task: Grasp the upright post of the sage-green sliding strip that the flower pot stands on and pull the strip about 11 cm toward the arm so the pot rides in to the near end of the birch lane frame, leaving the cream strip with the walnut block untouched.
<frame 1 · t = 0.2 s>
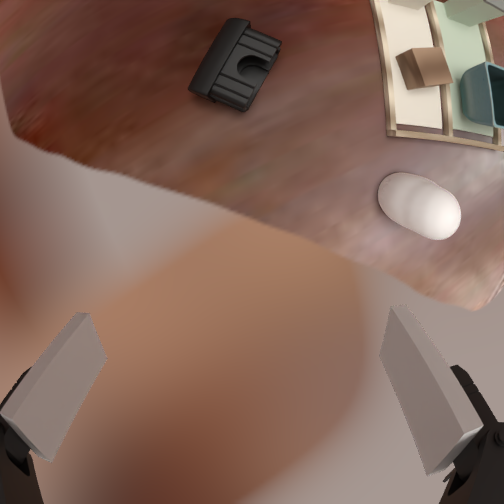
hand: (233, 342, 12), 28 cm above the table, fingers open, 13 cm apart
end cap: (237, 72, 31), on the table
cream strip: (430, 44, 23), point 6 cm above the table, slide at 0.0 cm, touching walnut block
figurine: (398, 194, 37), on the table
walnut block: (415, 71, 29), resting on cream strip
lane frame: (438, 37, 27), on the table
flower pot: (471, 100, 29), resting on sage strip
sage strip: (487, 61, 22), point 6 cm above the table, slide at 0.3 cm, touching flower pot
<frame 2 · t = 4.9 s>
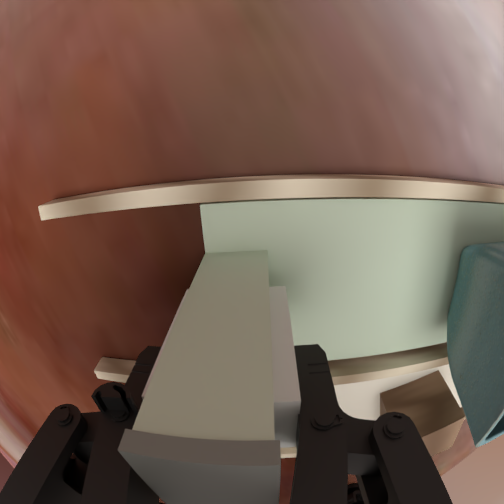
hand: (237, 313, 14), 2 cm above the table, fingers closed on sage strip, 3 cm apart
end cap: (356, 491, 28), on the table
cream strip: (390, 459, 14), point 6 cm above the table, slide at 0.0 cm, touching walnut block
walnut block: (408, 400, 18), resting on cream strip
lane frame: (334, 355, 17), on the table
flower pot: (478, 276, 14), resting on sage strip
sage strip: (452, 340, 10), point 6 cm above the table, slide at 0.0 cm, touching flower pot, gripper
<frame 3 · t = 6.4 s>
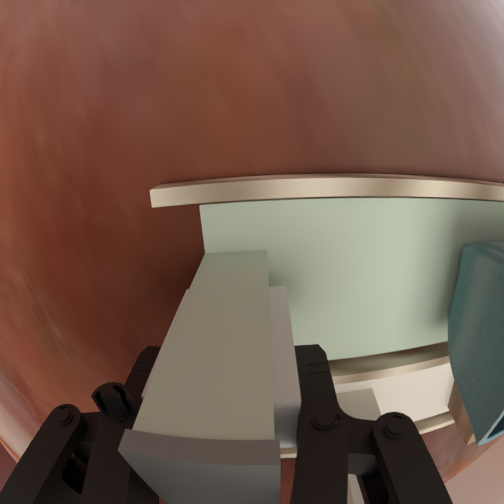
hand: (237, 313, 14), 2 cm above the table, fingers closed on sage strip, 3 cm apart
cream strip: (471, 431, 14), point 6 cm above the table, slide at 0.0 cm, touching walnut block
walnut block: (473, 380, 18), resting on cream strip
lane frame: (429, 340, 17), on the table
flower pot: (479, 275, 14), resting on sage strip
sage strip: (453, 338, 10), point 6 cm above the table, slide at 7.1 cm, touching flower pot, gripper
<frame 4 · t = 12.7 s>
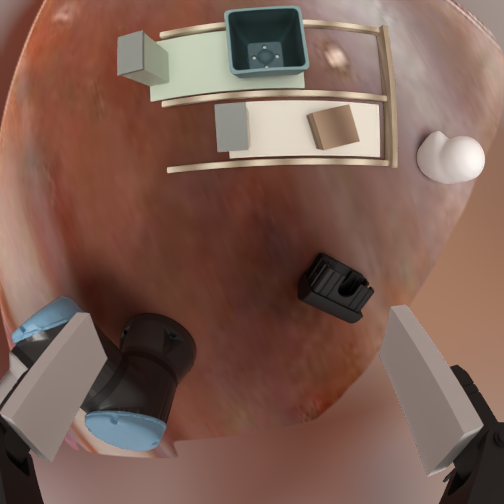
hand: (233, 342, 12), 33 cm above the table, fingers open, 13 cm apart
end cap: (330, 280, 47), on the table
cream strip: (313, 126, 33), point 6 cm above the table, slide at 0.0 cm, touching walnut block
figurine: (431, 156, 38), on the table
walnut block: (327, 128, 37), resting on cream strip
lane frame: (276, 89, 36), on the table
flower pot: (265, 57, 34), resting on sage strip
sage strip: (218, 50, 29), point 6 cm above the table, slide at 11.0 cm, touching flower pot
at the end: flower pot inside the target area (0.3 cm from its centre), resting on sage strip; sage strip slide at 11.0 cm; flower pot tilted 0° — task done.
